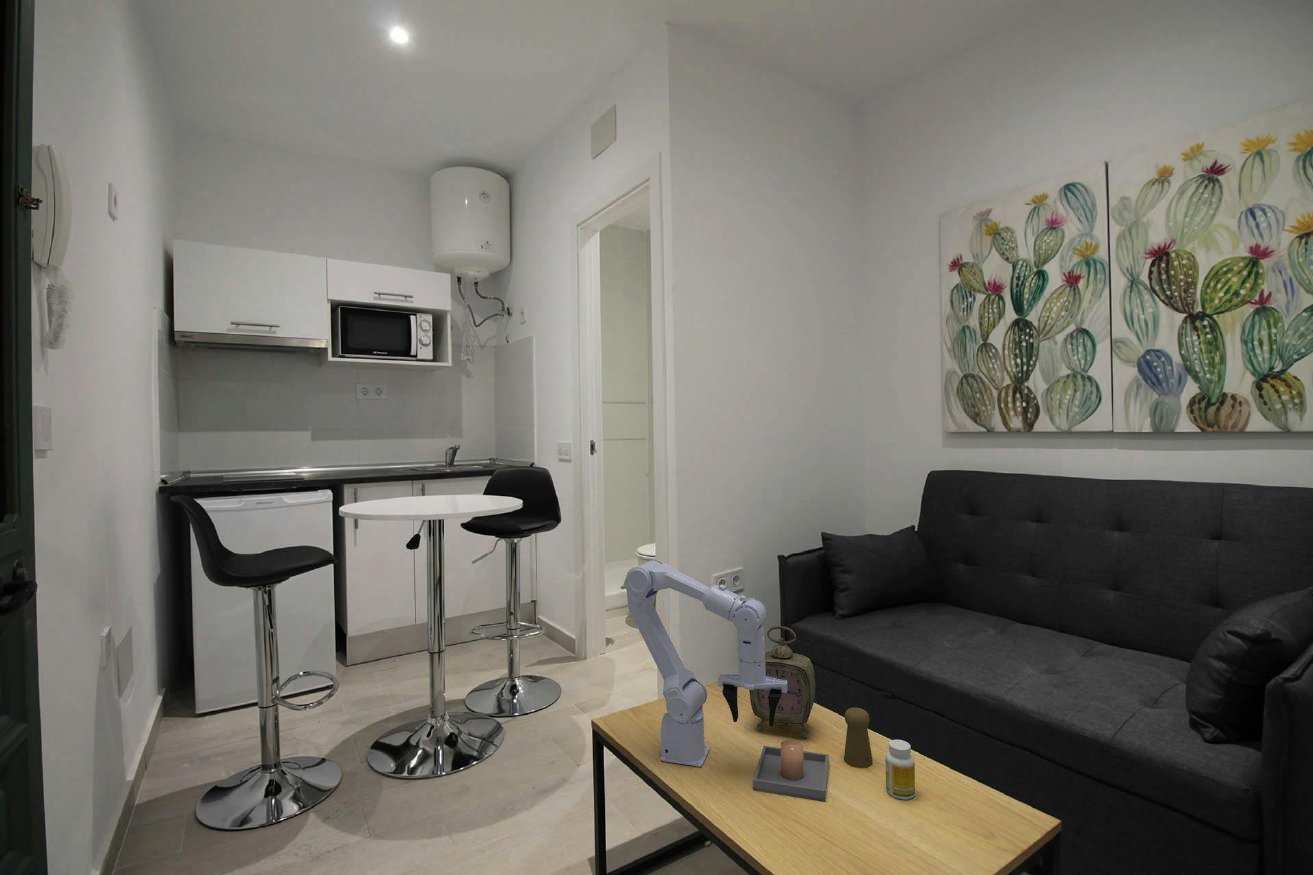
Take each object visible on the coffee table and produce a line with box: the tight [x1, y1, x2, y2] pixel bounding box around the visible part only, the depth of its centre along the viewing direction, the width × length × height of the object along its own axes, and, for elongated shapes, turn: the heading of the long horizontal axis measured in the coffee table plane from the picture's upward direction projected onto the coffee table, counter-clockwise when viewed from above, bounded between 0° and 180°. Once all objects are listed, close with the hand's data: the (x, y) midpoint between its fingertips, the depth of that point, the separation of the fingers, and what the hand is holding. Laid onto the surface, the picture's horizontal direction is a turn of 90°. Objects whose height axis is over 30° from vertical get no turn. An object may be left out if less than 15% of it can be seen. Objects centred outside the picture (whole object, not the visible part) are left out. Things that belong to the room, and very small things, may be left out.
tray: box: [752, 745, 830, 802], centre depth 127 cm, size 14×14×2 cm
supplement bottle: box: [884, 739, 916, 801], centre depth 120 cm, size 5×5×10 cm
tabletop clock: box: [749, 625, 816, 739], centre depth 147 cm, size 14×9×25 cm, turn 67°
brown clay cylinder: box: [780, 739, 804, 780], centre depth 127 cm, size 5×5×6 cm
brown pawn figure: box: [843, 707, 874, 769], centre depth 132 cm, size 6×6×11 cm
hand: (753, 721), depth 129 cm, fingers open, 7 cm apart
